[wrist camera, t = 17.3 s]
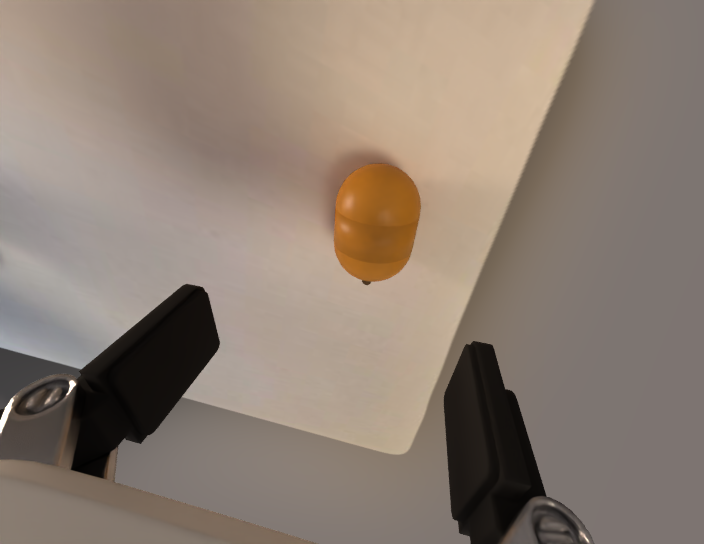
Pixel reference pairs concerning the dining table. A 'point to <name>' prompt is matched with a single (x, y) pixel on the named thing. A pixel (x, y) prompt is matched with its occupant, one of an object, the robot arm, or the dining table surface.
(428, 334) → the dining table surface
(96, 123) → the dining table surface
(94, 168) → the dining table surface
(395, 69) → the dining table surface
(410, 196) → the orange ribbed oval piece
